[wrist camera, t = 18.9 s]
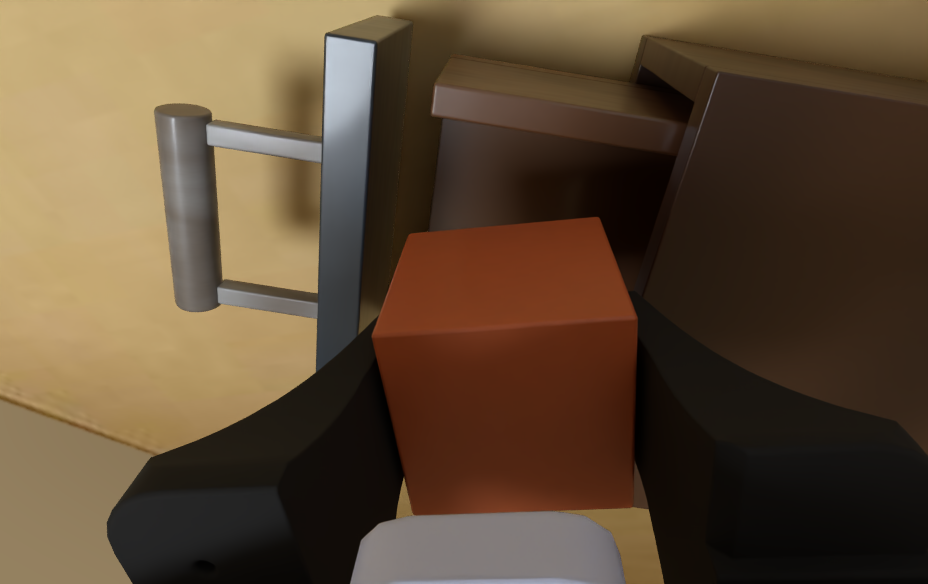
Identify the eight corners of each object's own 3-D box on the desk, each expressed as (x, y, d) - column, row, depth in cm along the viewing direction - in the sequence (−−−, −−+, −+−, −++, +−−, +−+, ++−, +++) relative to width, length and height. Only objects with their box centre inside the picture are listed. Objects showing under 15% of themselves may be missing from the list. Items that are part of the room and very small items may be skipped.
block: (408, 232, 14) (369, 335, 10) (599, 215, 14) (639, 316, 10) (435, 383, 16) (412, 517, 12) (601, 373, 16) (634, 509, 12)
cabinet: (555, 356, 25) (573, 498, 18) (642, 34, 19) (717, 70, 12) (893, 409, 25) (1034, 568, 18) (1088, 108, 19) (1407, 183, 12)
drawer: (233, 306, 23) (158, 399, 18) (216, -12, 18) (101, -5, 13) (686, 376, 24) (734, 487, 19) (806, 85, 18) (922, 129, 13)
